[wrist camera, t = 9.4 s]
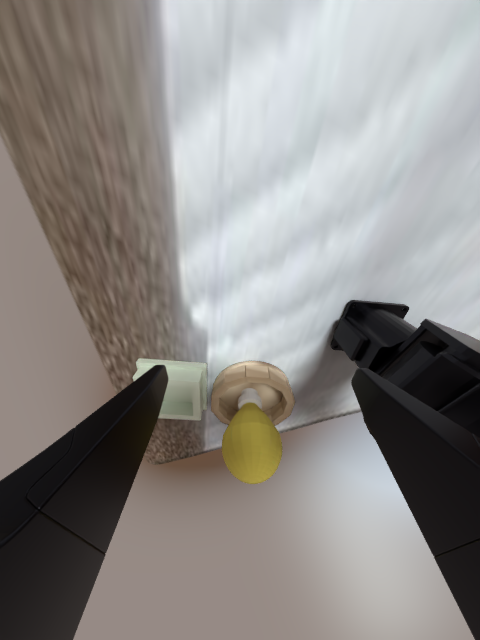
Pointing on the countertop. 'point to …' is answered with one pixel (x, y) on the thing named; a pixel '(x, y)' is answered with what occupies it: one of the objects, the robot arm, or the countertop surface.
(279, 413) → the round cradle
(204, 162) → the countertop surface
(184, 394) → the square socket
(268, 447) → the light bulb
